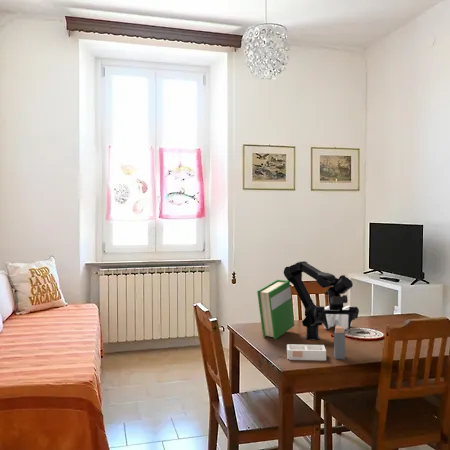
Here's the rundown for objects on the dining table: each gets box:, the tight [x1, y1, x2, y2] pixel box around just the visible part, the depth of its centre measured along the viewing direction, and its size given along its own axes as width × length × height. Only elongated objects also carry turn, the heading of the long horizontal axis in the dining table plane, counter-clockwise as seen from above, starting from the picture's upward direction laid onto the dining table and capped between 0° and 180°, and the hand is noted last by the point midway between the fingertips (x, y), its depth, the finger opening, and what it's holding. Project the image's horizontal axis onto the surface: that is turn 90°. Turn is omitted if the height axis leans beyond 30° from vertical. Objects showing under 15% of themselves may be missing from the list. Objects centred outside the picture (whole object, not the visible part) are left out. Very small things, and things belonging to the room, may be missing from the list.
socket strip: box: [286, 343, 327, 361], centre depth 202 cm, size 9×16×4 cm, turn 84°
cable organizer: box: [323, 305, 353, 331], centre depth 248 cm, size 15×11×12 cm
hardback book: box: [256, 279, 295, 340], centre depth 235 cm, size 18×7×24 cm, turn 140°
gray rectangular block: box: [333, 325, 346, 360], centre depth 200 cm, size 4×4×13 cm
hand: (338, 329), depth 204 cm, fingers open, 9 cm apart
